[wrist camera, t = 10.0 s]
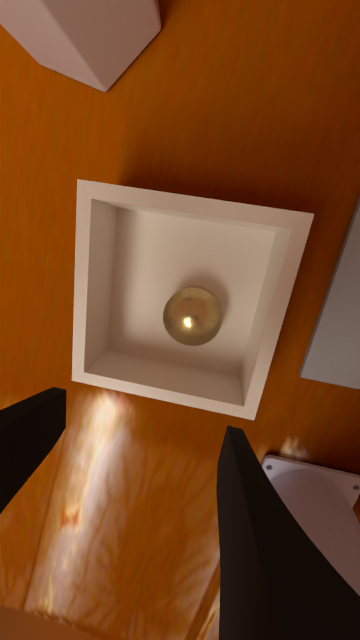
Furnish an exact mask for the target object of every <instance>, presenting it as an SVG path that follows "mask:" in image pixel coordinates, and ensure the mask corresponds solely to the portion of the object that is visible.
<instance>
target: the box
mask: <svg viewBox="0 0 360 640" xmlns="http://www.w3.org/2000/svg"><path fill="white" fill-rule="evenodd" d="M313 217H314V214H312V213H305V212H298V211H291V210H284V209H278V208H271V207H264V206H257V205H250V204H243V203H236V202H230V201H223V200H216V199H209V198H202V197H195V196H189V195H182V194H175V193H168V192H161V191H154V190H147V189H141V188H134V187H127V186H120V185H113V184H106V183H100V182H93V181H86V180H79V179H77V210H76V247H75V284H74V320H73V357H72V381H76V382H81V383H86V384H90V385H95V386H99V387H104V388H108V389H113V390H118V391H122V392H127V393H131V394H136V395H140V396H145V397H150V398H154V399H159V400H163V401H168V402H172V403H177V404H182V405H186V406H191V407H195V408H200V409H204V410H209V411H214V412H218V413H223V414H227V415H232V416H236V417H241V418H246V419H250V420H254V419H255V416H256V412H257V409H258V405H259V402H260V398H261V395H262V392H263V388H264V385H265V381H266V378H267V375H268V371H269V368H270V364H271V361H272V357H273V354H274V351H275V347H276V344H277V340H278V337H279V333H280V330H281V327H282V323H283V320H284V316H285V313H286V309H287V306H288V303H289V299H290V296H291V292H292V289H293V286H294V282H295V279H296V275H297V272H298V268H299V265H300V262H301V258H302V255H303V251H304V248H305V244H306V241H307V238H308V234H309V231H310V227H311V224H312V221H313ZM188 286H199V287H203V288H205V289H207V290H209V291H210V292H212V293H213V294H214V295H215V296H216V298H217V299H218V301H219V303H220V305H221V309H222V325H221V328H220V330H219V332H218V334H217V335H216V336H215V337H214V338H213V339H212V340H211V341H209V342H208V343H205V344H203V345H199V346H188V345H184V344H181V343H179V342H177V341H176V340H174V339H173V338H172V337H171V336H170V335H169V334H168V332H167V330H166V328H165V326H164V323H163V311H164V308H165V305H166V303H167V302H168V300H169V299H170V298H171V296H172V295H173V294H174V293H175V292H177V291H178V290H180V289H182V288H184V287H188Z"/></svg>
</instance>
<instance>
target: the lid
mask: <svg viewBox="0 0 360 640" xmlns="http://www.w3.org/2000/svg"><path fill="white" fill-rule="evenodd" d="M299 376H300V377H302V378H307V379H312V380H316V381H321V382H326V383H331V384H336V385H341V386H346V387H350V388H355V389H360V196H359V199H358V202H357V205H356V208H355V211H354V214H353V217H352V220H351V222H350V225H349V228H348V231H347V234H346V237H345V240H344V243H343V246H342V249H341V252H340V255H339V258H338V261H337V264H336V267H335V269H334V272H333V275H332V278H331V281H330V284H329V287H328V290H327V293H326V296H325V299H324V302H323V305H322V308H321V311H320V314H319V317H318V319H317V322H316V325H315V328H314V331H313V334H312V337H311V340H310V343H309V346H308V349H307V352H306V355H305V358H304V361H303V364H302V367H301V369H300V372H299Z"/></svg>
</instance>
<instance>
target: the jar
mask: <svg viewBox="0 0 360 640" xmlns="http://www.w3.org/2000/svg"><path fill="white" fill-rule="evenodd" d="M0 24H1V25H2V26H3V27H4V28H5V29H6V30H7V31H8V32H9V33H10V34H11V35H12V36H13V37H14V38H15V39H16V40H17V42H18V43H19V44H20V45H21V46H22V47H23V48H24V49H25V50H26V51H27V52H28V53H29V54H30V55H31V56H32V57H33V58H34V59H35V60H36V61H37V62H38V63H39V64H40V65H42V66H45V67H47V68H49V69H52V70H54V71H56V72H59V73H61V74H63V75H66V76H68V77H70V78H73V79H75V80H77V81H79V82H82V83H84V84H86V85H89V86H91V87H93V88H96V89H98V90H100V91H103V92H106V91H108V89H109V88H110V87H111V86H112V85H113V84H114V83H115V81H116V80H117V79H118V78H119V77H120V76H121V75H122V73H123V72H124V71H125V70H126V69H127V68H128V67H129V65H130V64H131V63H132V62H133V61H134V60H135V59H136V57H137V56H138V55H139V54H140V53H141V52H142V51H143V50H144V48H145V47H146V46H147V45H148V44H149V43H150V42H151V41H152V39H153V38H154V37H155V36H156V35H157V34H158V33H159V31H160V29H161V19H160V10H159V2H158V0H0Z"/></svg>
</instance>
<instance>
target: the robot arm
mask: <svg viewBox="0 0 360 640" xmlns="http://www.w3.org/2000/svg"><path fill="white" fill-rule="evenodd" d="M65 428H66V390H65V389H60V388H56V387H52V388H50V389H47V390H45V391H43V392H40V393H38V394H36V395H34V396H31V397H29V398H27V399H25V400H23V401H20V402H18V403H16V404H14V405H11V406H9V407H7V408H4V409H2V410H0V514H1V512H2V511H3V510H4V508H5V507H6V506H7V504H8V503H9V502H10V501H11V499H12V498H13V497H14V496H15V494H16V493H17V492H18V491H19V489H20V488H21V487H22V486H23V484H24V483H25V482H26V481H27V480H28V478H29V477H30V476H31V475H32V473H33V472H34V471H35V470H36V469H37V467H38V466H39V465H40V464H41V462H42V461H43V460H44V459H45V457H46V456H47V455H48V454H49V452H50V451H51V450H52V448H53V447H54V445H55V444H56V442H57V441H58V439H59V438H60V436H61V434H62V433H63V431H64V429H65ZM267 465H271V466H267ZM355 485H356V486H355ZM359 494H360V475H357V474H352V473H348V472H344V471H339V470H335V469H331V468H326V467H322V466H318V465H313V464H309V463H304V462H300V461H296V460H291V459H287V458H283V457H278V456H274V455H267V456H265V458H264V460H263V463H262V466H261V464H260V463H259V461H258V459H257V457H256V455H255V453H254V451H253V449H252V448H251V446H250V444H249V442H248V439H247V437H246V435H245V433H244V431H243V430H242V429H240V428H235V427H231V426H227V429H226V433H225V437H224V441H223V445H222V449H221V453H220V457H219V461H218V468H217V508H218V526H219V543H220V568H221V575H220V620H219V640H360V523H359V521H358V519H357V517H356V515H355V513H354V511H353V509H352V508H353V506H354V504H355V502H356V500H357V498H358V496H359Z"/></svg>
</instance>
